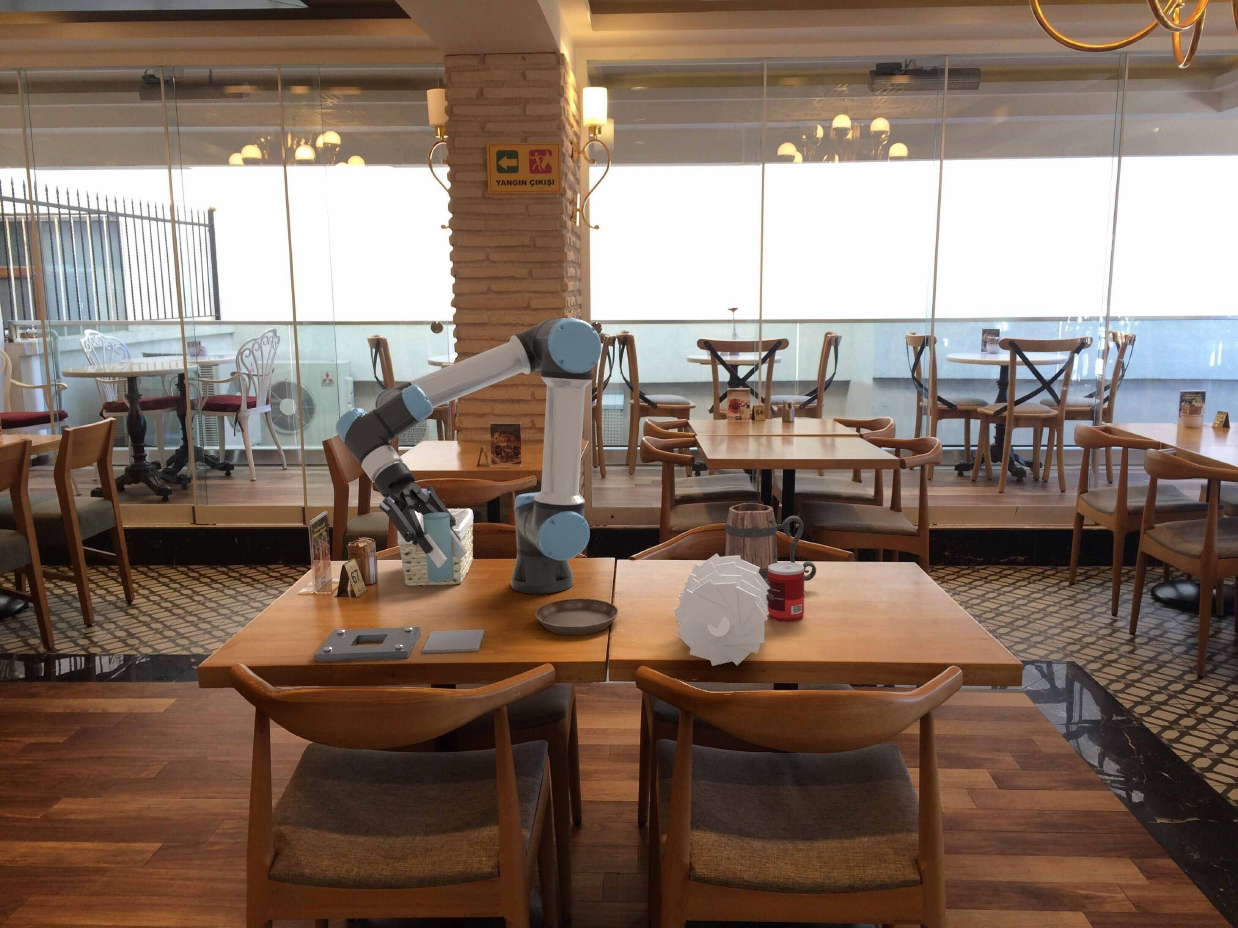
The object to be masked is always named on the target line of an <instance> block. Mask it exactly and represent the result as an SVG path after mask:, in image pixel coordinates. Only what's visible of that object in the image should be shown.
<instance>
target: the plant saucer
mask: <svg viewBox="0 0 1238 928" xmlns="http://www.w3.org/2000/svg"><path fill="white" fill-rule="evenodd" d="M618 614H619V608H617V606H615V605H614V604H613V603H611V602H608V601H606V600H605V601H604V600H602V599H601V600H600V599H596V598H594V599H593V598H567V599H560V600H556V601H552V602H549V603H546V604H544V605H541V607H539V608H537V610H536V611H535V617H536V619H537V621H539V623H540V624H541V625H542V626H543V627H544V628H545V629H546V630H547V631H549V632H552V633H555V634H559V635H566V636H579V635H581V636H582V635H589V634H590V635H591V634H594V633H597V632H601V631H604V630H606V629H607V628H608V627H609V626H611V624H612V623H613V622H614V621H615V619H616V617H617V615H618Z"/></svg>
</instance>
